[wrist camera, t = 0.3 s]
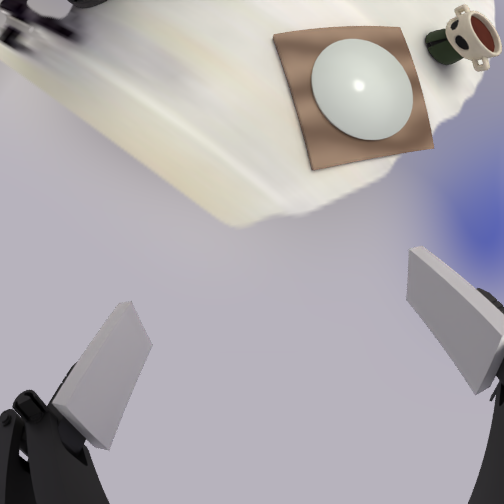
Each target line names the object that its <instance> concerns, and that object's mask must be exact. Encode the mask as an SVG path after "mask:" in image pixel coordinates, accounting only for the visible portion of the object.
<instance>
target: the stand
mask: <svg viewBox="0 0 504 504" xmlns="http://www.w3.org/2000/svg"><path fill="white" fill-rule="evenodd" d="M344 39H361V40H366V41H369V42H372V43H374V44H377V45H379V46H380V47H382V48H384V49H385V50H387V51H388V52H389V53H390V54H392V55H393V56H394V57H395V58H396V59H397V60H398V62H399V63H400V64H401V65H402V67H403V68H404V70H405V72H406V74H407V76H408V78H409V81H410V83H411V87H412V93H413V106H412V111H411V114H410V117H409V119H408V121H407V122H406V124H405V125H404V127H403V128H402V129H401V130H400V131H398V132H397V133H396V134H394V135H392V136H390V137H388V138H384V139H380V140H364V139H358V138H355V137H352V136H350V135H347V134H345V133H344V132H342V131H340V130H339V129H337V128H336V127H335V126H333V125H332V124H331V123H330V122H329V121H328V120H327V119H326V117H325V116H324V115H323V114H322V112H321V111H320V109H319V107H318V106H317V104H316V102H315V99H314V96H313V92H312V88H311V73H312V68H313V66H314V63H315V61H316V59H317V57H318V56H319V55H320V54H321V52H322V51H323V50H324V49H325V48H326V47H328V46H329V45H331V44H332V43H335V42H337V41H340V40H344ZM273 40H274V43H275V46H276V48H277V51H278V54H279V57H280V60H281V63H282V66H283V69H284V72H285V75H286V78H287V81H288V84H289V88H290V91H291V94H292V97H293V101H294V104H295V107H296V111H297V114H298V118H299V121H300V125H301V129H302V132H303V136H304V140H305V144H306V147H307V151H308V155H309V159H310V163H311V168H312V170H318V169H322V168H327V167H331V166H336V165H341V164H346V163H351V162H356V161H361V160H366V159H371V158H377V157H382V156H388V155H394V154H400V153H406V152H413V151H419V150H426V149H433V148H434V144H433V138H432V133H431V128H430V123H429V118H428V113H427V109H426V105H425V101H424V97H423V93H422V89H421V86H420V82H419V79H418V76H417V72H416V69H415V66H414V63H413V60H412V57H411V54H410V51H409V49H408V46H407V43H406V41H405V38H404V36H403V33H402V31H401V28H400V27H384V26H346V27H328V28H317V29H307V30H299V31H292V32H285V33H279V34H273Z"/></svg>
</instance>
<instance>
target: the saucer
mask: <svg viewBox="0 0 504 504" xmlns="http://www.w3.org/2000/svg"><path fill="white" fill-rule="evenodd" d="M311 88H312V92H313V96H314V99H315V102H316V104H317V106H318V107H319V109H320V111H321V112H322V114H323V115H324V116H325V117H326V119H327V120H328V121H329V122H330V123H331V124H332V125H333V126H335V127H336V128H337V129H339V130H340V131H342V132H344V133H345V134H347V135H350V136H352V137H355V138H358V139H364V140H380V139H384V138H388V137H390V136H392V135H394V134H396V133H397V132H398V131H400V130H401V129H402V128H403V127H404V125H405V124H406V122H407V121H408V119H409V117H410V114H411V111H412V106H413V93H412V87H411V83H410V81H409V78H408V76H407V74H406V72H405V70H404V68H403V67H402V65H401V64H400V63H399V62H398V60H397V59H396V58H395V57H394V56H393V55H392V54H390V53H389V52H388V51H387V50H385V49H384V48H382V47H380V46H379V45H377V44H374V43H372V42H369V41H366V40H361V39H344V40H340V41H337V42H335V43H332V44H331V45H329V46H328V47H326V48H325V49H324V50H323V51H322V52H321V54H320V55H319V56H318V57H317V59H316V61H315V63H314V66H313V68H312V73H311Z"/></svg>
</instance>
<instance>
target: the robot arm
mask: <svg viewBox="0 0 504 504" xmlns="http://www.w3.org/2000/svg"><path fill="white" fill-rule="evenodd" d="M68 1H69V2H70V3H72V4H73V5H75V6H77V7H82V8H85V7H91V6H95V5H98V4H100V3H102V2H104V1H106V0H68ZM406 300H407V301H408V302H409V304H410V305H411V306H412V307H413V309H414V310H415V311H416V313H417V314H418V315H419V316H420V318H421V319H422V320H423V321H424V323H425V324H426V325H427V327H428V328H429V329H430V331H431V332H432V333H433V335H434V336H435V337H436V338H437V340H438V341H439V343H440V344H441V345H442V347H443V348H444V350H445V351H446V352H447V354H448V355H449V357H450V358H451V359H452V361H453V362H454V364H455V365H456V366H457V368H458V370H459V371H460V373H461V374H462V376H463V377H464V378H465V380H466V382H467V383H468V385H469V386H470V388H471V389H472V391H473V393H474V394H475V395H477V394H479V393H480V392H482V391H484V390H485V389H487V388H489V387H490V386H491V384H492V382H493V380H494V378H495V376H497V377H498V379H499V380H500V381H499V383H498V385H497V387H496V388H495V390H494V392H493V394H492V395H491V398H490V401H492V400H493V398H494V397H495V395H496V400H495V407H494V413H493V419H492V424H491V430H490V434H489V439H488V443H487V448H486V451H485V455H484V459H483V462H482V465H481V469H480V472H479V476H478V478H477V482H476V484H475V487H474V489H473V492H472V495H471V497H470V500H469V502H468V504H504V307H503V305H502V304H501V303H500V302H499V301H497V299H496V298H494V297H493V296H492V295H491V294H490V293H489V292H486V291H484V290H482V289H480V288H477V289H475V288H474V287H473V286H472V285H470V283H468V282H467V281H466V280H465V279H464V278H462V277H461V276H460V275H459V274H458V273H456V272H455V271H454V270H452V269H451V268H450V267H449V266H448V265H446V264H445V263H444V262H443V261H441V260H440V259H439V258H437V257H436V256H435V255H433V254H432V253H431V252H430V251H428V250H427V249H425V248H424V247H423V246H419V247H415V248H411V249H409V261H408V283H407V297H406ZM151 348H152V343H151V341H150V339H149V337H148V335H147V333H146V331H145V329H144V327H143V325H142V323H141V321H140V319H139V317H138V315H137V313H136V310H135V308H134V306H133V304H132V301H131V302H124V303H119V304H118V305H117V307H116V308H115V309H114V311H113V312H112V313H111V315H110V316H109V318H108V319H107V320H106V322H105V323H104V324H103V326H102V327H101V328H100V330H99V331H98V333H97V334H96V336H95V337H94V338H93V340H92V341H91V343H90V344H89V346H88V347H87V349H86V350H85V351H84V353H83V354H82V356H81V357H80V359H79V361H78V362H76V363H75V364H74V365H73V366H72V367H71V369H70V370H69V372H68V373H67V377H65V378H64V380H63V381H62V382H63V383H61V384H60V386H59V387H58V389H57V391H56V392H55V394H54V395H53V397H52V399H51V400H50V402H49V404H48V405H47V406H46V405H45V404H44V402H43V401H42V400H41V399H40V398H39V397H38V395H37V394H36V393H35V392H34V391H33V390H26V391H24V392H22V393H21V394H20V395H19V396H18V397H17V398H16V399H15V401H14V403H13V408H14V410H15V411H16V412H17V413H18V414H19V415H20V416H21V417H20V416H19V415H18V414H17V413H16V412H15V411H14V410H13V409H8V410H6V411H4V412H3V413H2V414H1V416H0V504H109V501H108V499H107V497H106V495H105V493H104V490H103V488H102V485H101V483H100V481H99V478H98V475H97V473H96V470H95V467H94V465H93V462H92V459H91V456H90V453H89V450H88V449H87V447H86V446H85V445H84V442H85V440H86V439H87V440H88V441H89V442H90V443H91V444H92V445H93V446H94V447H96V448H101V449H105V450H110V447H111V444H112V441H113V439H114V436H115V433H116V431H117V428H118V426H119V423H120V421H121V418H122V416H123V413H124V411H125V408H126V406H127V403H128V401H129V399H130V396H131V394H132V391H133V389H134V386H135V384H136V382H137V380H138V377H139V375H140V373H141V370H142V368H143V366H144V363H145V361H146V359H147V356H148V354H149V352H150V350H151ZM19 449H20V450H21V451H22V452H23V453H24V454H25V455H26V456H28V461H25V460H24V459H23V458H22V457H20V456H19Z"/></svg>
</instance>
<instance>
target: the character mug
mask: <svg viewBox="0 0 504 504" xmlns="http://www.w3.org/2000/svg"><path fill="white" fill-rule="evenodd" d="M463 11H465V14H461V12H463ZM455 14H456V16H457V17H455V18H452V19H450V21H449V22H448V23H447V26H446V29H441V30H436V31H433V32H430V33H429V34H428V35H427V36H426V43H429V42H431V47H429V48H428V50H429V52H430V53H431V55H432V56H433V57H434V58H435V59H436V60H437V61H438V62H440V63H442V64H445V65H449V64H453V63H455V62H457V61H459V60H461V59H462V58H466V59H468V60H471V61H472V63H473V66H474V69H475V70H476V71H478V72H479V71H485V70H488V69H490V66H489V62H488V59H487V58H491V57H496V56H499V55H500V54H501V52H502V44H501V40H500V37H499V35H498V33H497V31H496V29H495V28H494V26H493V25H492V23H491V22H490V21H489V20H488V19H487V18H486V17H485V16H484V15H482V14H481V13H479V12H478V11H470V9H469V7H468V6H467V5H461V6H459V7H457V8H455ZM481 59H482V61H483V64H482V65H479V64H478V60H481Z"/></svg>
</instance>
